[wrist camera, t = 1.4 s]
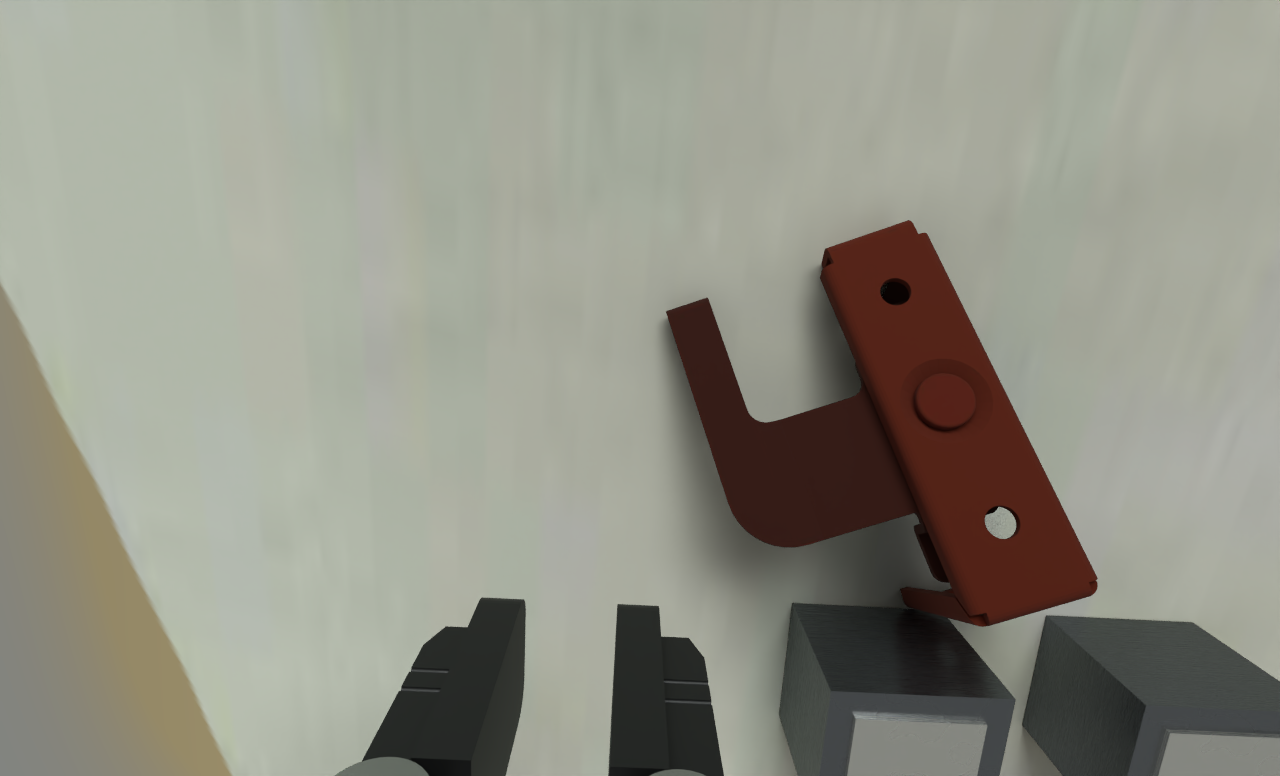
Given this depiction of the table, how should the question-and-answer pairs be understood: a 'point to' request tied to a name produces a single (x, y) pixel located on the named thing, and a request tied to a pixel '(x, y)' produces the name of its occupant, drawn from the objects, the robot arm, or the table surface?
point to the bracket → (896, 440)
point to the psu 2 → (1150, 701)
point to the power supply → (889, 696)
